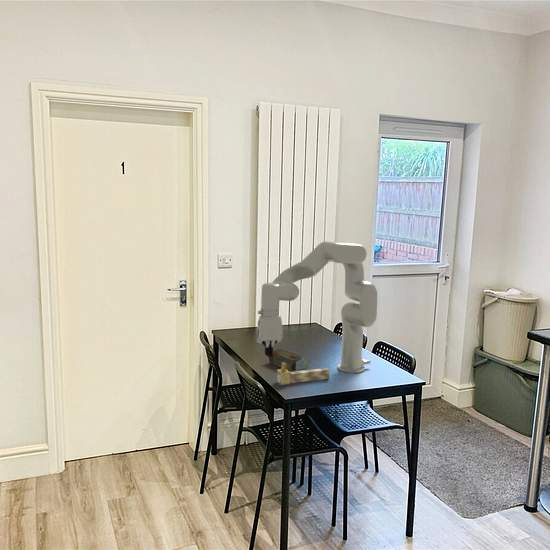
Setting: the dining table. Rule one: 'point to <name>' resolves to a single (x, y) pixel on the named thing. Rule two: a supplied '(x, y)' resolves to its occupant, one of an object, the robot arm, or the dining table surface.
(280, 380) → the block
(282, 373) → the lock collar
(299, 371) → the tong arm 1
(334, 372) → the dining table surface
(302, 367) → the beverage carton
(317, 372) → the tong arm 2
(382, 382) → the dining table surface
